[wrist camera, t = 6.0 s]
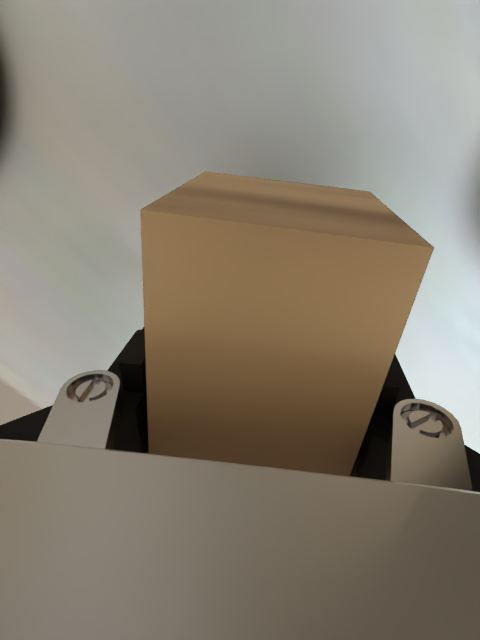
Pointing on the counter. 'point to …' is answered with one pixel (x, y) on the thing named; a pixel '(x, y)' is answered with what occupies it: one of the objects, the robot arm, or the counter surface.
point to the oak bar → (271, 319)
